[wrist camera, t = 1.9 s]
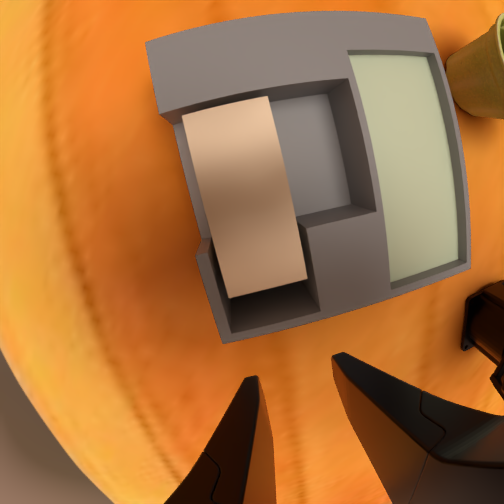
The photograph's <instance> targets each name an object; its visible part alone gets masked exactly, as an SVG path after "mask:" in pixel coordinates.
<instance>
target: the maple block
mask: <svg viewBox="0 0 504 504" xmlns="http://www.w3.org/2000/svg"><path fill="white" fill-rule="evenodd" d="M182 119H183V123H184V128H185V132H186V136H187V141H188V145H189V149H190V153H191V157H192V161H193V165H194V169H195V174H196V178H197V182H198V186H199V189H200V193H201V197H202V201H203V205H204V209H205V213H206V217H207V220H208V224H209V228H210V232H211V236H212V239H213V243H214V247H215V250H216V254H217V258H218V261H219V265H220V269H221V272H222V276H223V279H224V283H225V286H226V290H227V293H228V297H229V298H232V297H236V296H241V295H245V294H249V293H253V292H257V291H261V290H265V289H269V288H273V287H277V286H281V285H285V284H289V283H293V282H297V281H301V280H305V279H308V278H307V273H306V268H305V262H304V257H303V252H302V246H301V241H300V236H299V231H298V226H297V221H296V216H295V212H294V207H293V202H292V197H291V193H290V188H289V184H288V179H287V175H286V170H285V166H284V161H283V157H282V153H281V148H280V144H279V140H278V136H277V132H276V128H275V124H274V120H273V116H272V112H271V108H270V104H269V100H268V96H264V97H259V98H254V99H249V100H244V101H239V102H234V103H230V104H226V105H221V106H217V107H213V108H209V109H205V110H201V111H197V112H193V113H190V114H186V115H183V116H182Z"/></svg>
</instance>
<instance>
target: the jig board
mask: <svg viewBox="0 0 504 504" xmlns="http://www.w3.org/2000/svg"><path fill="white" fill-rule="evenodd" d="M145 45H146V50H147V56H148V61H149V66H150V72H151V77H152V82H153V87H154V92H155V97H156V101H157V106H158V111H159V114H160V115H161V116H162V117H163V118H165V119H166V120H167V121H168V122H170V123H171V124H172V125H173V128H174V132H175V137H176V141H177V145H178V149H179V153H180V158H181V162H182V166H183V170H184V174H185V178H186V182H187V186H188V190H189V194H190V198H191V201H192V205H193V209H194V213H195V217H196V220H197V224H198V228H199V231H200V235H201V239H202V240H201V243H200V245H199V247H198V250H197V252H196V255H195V257H196V260H197V264H198V267H199V270H200V274H201V277H202V280H203V284H204V287H205V290H206V293H207V297H208V300H209V303H210V306H211V309H212V313H213V316H214V319H215V322H216V325H217V328H218V331H219V334H220V337H221V340H222V343H223V344H226V343H230V342H235V341H239V340H244V339H248V338H252V337H257V336H261V335H265V334H269V333H273V332H277V331H281V330H285V329H289V328H293V327H297V326H300V325H304V324H308V323H312V322H315V321H319V320H322V319H326V318H329V317H333V316H336V315H340V314H343V313H346V312H350V311H353V310H356V309H359V308H362V307H366V306H369V305H372V304H375V303H378V302H381V301H384V300H387V299H390V298H393V297H396V296H399V295H402V294H405V293H408V292H410V291H413V290H416V289H419V288H422V287H424V286H427V285H430V284H432V283H435V282H438V281H440V280H443V279H445V278H448V277H451V276H453V275H456V274H458V273H461V272H463V271H466V270H468V269H470V268H471V229H470V208H469V195H468V184H467V175H466V167H465V160H464V153H463V147H462V141H461V136H460V130H459V125H458V121H457V116H456V112H455V107H454V103H453V99H452V95H451V91H450V88H449V84H448V81H447V77H446V74H445V71H444V67H443V64H442V61H441V58H440V55H439V52H438V49H437V47H436V44H435V41H434V38H433V36H432V33H431V31H430V28H429V26H428V23H427V21H426V19H425V18H419V17H412V16H405V15H397V14H387V13H375V12H357V11H311V12H293V13H281V14H271V15H263V16H255V17H248V18H242V19H236V20H230V21H225V22H219V23H215V24H210V25H205V26H201V27H197V28H193V29H189V30H185V31H181V32H177V33H174V34H170V35H167V36H163V37H160V38H157V39H154V40H151V41H148V42H145ZM264 96H268V100H269V104H270V108H271V112H272V116H273V120H274V124H275V128H276V132H277V136H278V140H279V144H280V148H281V153H282V157H283V161H284V166H285V170H286V175H287V179H288V184H289V188H290V193H291V197H292V202H293V207H294V212H295V216H296V221H297V226H298V231H299V236H300V241H301V246H302V252H303V257H304V262H305V268H306V273H307V278H308V279H305V280H301V281H297V282H293V283H289V284H285V285H281V286H277V287H273V288H269V289H265V290H261V291H257V292H253V293H249V294H245V295H241V296H236V297H232V298H229V297H228V293H227V290H226V286H225V283H224V279H223V276H222V272H221V269H220V265H219V261H218V258H217V254H216V250H215V247H214V243H213V239H212V236H211V232H210V228H209V224H208V220H207V217H206V213H205V209H204V205H203V201H202V197H201V193H200V189H199V186H198V182H197V178H196V174H195V169H194V165H193V161H192V157H191V153H190V149H189V145H188V141H187V136H186V132H185V128H184V123H183V119H182V116H183V115H186V114H190V113H193V112H197V111H201V110H205V109H209V108H213V107H217V106H221V105H226V104H230V103H234V102H239V101H244V100H249V99H254V98H259V97H264Z"/></svg>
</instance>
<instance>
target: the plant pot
mask: <svg viewBox="0 0 504 504" xmlns="http://www.w3.org/2000/svg"><path fill="white" fill-rule="evenodd" d="M446 66H447V69H446V77H447V81H448V84H449V88H450V91H451V95H452V97H453V98H454V100H455V102H456V103H457V104H458V105H459V107H460V108H461V109H463V110H465V111H466V112H468V113H469V114H471V115H472V116H477V117H487V118H497V119H504V13H502V14H500V15H499V16H498V17H497V19H496V22H495V24H494V25H493V26H491V28H490V29H489V31H488V32H487V33H485V34H483V35H482V36H480V37H479V38H477V39H476V40H474V41H473V42H471V43H469V44H468V45H466V46H465V47H463V48H462V49H460V50H459V51H457V52H456V53H454V54H452V55H451V56H450V57H449V58H448V59H447V61H446Z"/></svg>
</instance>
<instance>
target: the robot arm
mask: <svg viewBox="0 0 504 504" xmlns="http://www.w3.org/2000/svg"><path fill="white" fill-rule="evenodd" d="M472 347H476V348H477V349H478V350H479V351H480V352H482V353H483V354H484V355H485V356H486V357H488V358H489V359H490V360H491V361H492V362H493V363H495V364H496V365H497V368H496V370H495V371H494V373H493V374H492V375H491V377H490V380H491V381H492V383H493V385H494V387H495V388H496V390H497V391H498V393H499V394H500V395H501V397H502V398H503V400H504V280H502V281H500V282H498V283H496V284H494V285H492V286H490V287H488V288H486V289H484V290H482V291H480V292H478V293H476V294H474V295H472V296H470V297H468V299H467V301H466V310H465V320H464V328H463V336H462V343H461V349H462V350H463V351H466V350H468V349H470V348H472ZM331 361H332V369H333V377H334V381H335V384H336V386H337V389H338V392H339V395H340V397H341V400H342V403H343V406H344V408H345V411H346V414H347V416H348V419H349V421H350V423H351V425H352V427H353V429H354V431H355V433H356V434H357V436H358V438H359V440H360V442H361V444H362V446H363V448H364V450H365V452H366V453H367V455H368V457H369V459H370V461H371V463H372V465H373V467H374V469H375V471H376V473H377V474H378V476H379V478H380V480H381V482H382V484H383V486H384V488H385V490H386V492H387V494H388V495H389V497H390V499H391V501H392V503H393V504H504V416H500V415H494V414H490V413H486V412H483V411H479V410H476V409H472V408H469V407H465V406H462V405H459V404H456V403H453V402H450V401H447V400H444V399H442V398H439V397H437V396H435V395H432V394H430V393H428V392H426V391H422V390H421V389H419V388H417V387H415V386H413V385H410V384H408V383H406V382H404V381H402V380H400V379H398V378H396V377H394V376H391V375H389V374H387V373H385V372H383V371H381V370H379V369H377V368H375V367H373V366H371V365H369V364H367V363H365V362H363V361H361V360H359V359H357V358H355V357H353V356H351V355H349V354H347V353H345V352H341V353H338V354H335V355H333V356H332V357H331ZM164 504H276V485H275V466H274V448H273V437H272V431H271V426H270V421H269V417H268V412H267V407H266V402H265V397H264V393H263V390H262V387H261V384H260V380H259V377H258V376H257V375H255V376H250V377H246V378H244V380H243V382H242V384H241V385H240V387H239V389H238V391H237V393H236V395H235V396H234V398H233V400H232V402H231V403H230V405H229V407H228V409H227V411H226V412H225V414H224V416H223V418H222V419H221V421H220V423H219V425H218V426H217V428H216V430H215V432H214V433H213V435H212V437H211V438H210V440H209V442H208V444H207V445H206V447H205V449H204V452H202V453H201V455H200V457H199V458H198V460H197V462H196V463H195V465H194V466H193V468H192V469H191V471H190V472H189V474H188V475H187V476H186V477H185V479H184V480H183V481H182V483H181V484H180V485H179V486H178V488H177V489H176V490H175V491H174V492H173V493H172V495H171V496H170V497H169V498H168V499H167V500H166V502H165V503H164Z"/></svg>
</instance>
